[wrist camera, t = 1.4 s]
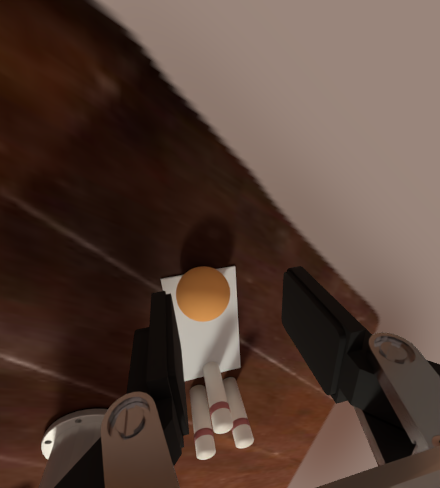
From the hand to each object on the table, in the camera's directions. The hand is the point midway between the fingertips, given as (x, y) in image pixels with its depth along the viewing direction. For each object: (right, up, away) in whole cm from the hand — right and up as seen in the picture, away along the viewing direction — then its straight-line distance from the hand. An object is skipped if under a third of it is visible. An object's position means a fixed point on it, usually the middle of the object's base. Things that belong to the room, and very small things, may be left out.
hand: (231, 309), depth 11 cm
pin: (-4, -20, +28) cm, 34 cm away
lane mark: (-2, -9, +23) cm, 25 cm away
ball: (-2, -3, +17) cm, 17 cm away
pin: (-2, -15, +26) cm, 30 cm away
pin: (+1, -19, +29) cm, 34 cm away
